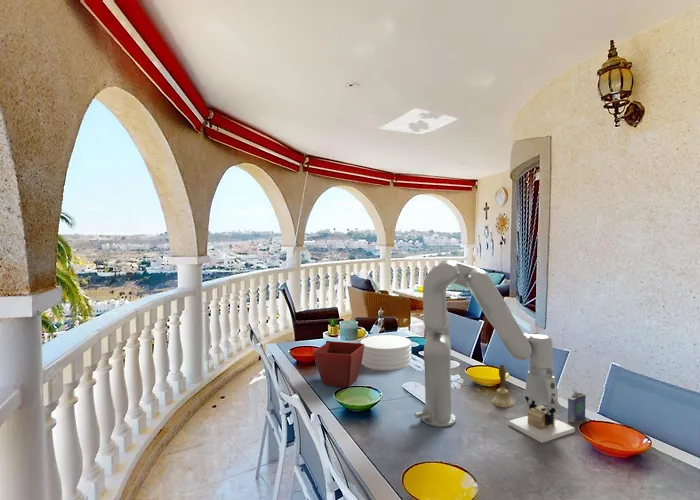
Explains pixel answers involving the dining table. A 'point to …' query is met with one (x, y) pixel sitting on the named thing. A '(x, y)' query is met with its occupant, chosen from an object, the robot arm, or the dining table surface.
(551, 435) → the shaft board
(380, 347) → the plate stack
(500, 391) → the hand bell
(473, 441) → the dining table surface
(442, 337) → the robot arm
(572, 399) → the flask
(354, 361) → the plant pot
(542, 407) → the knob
